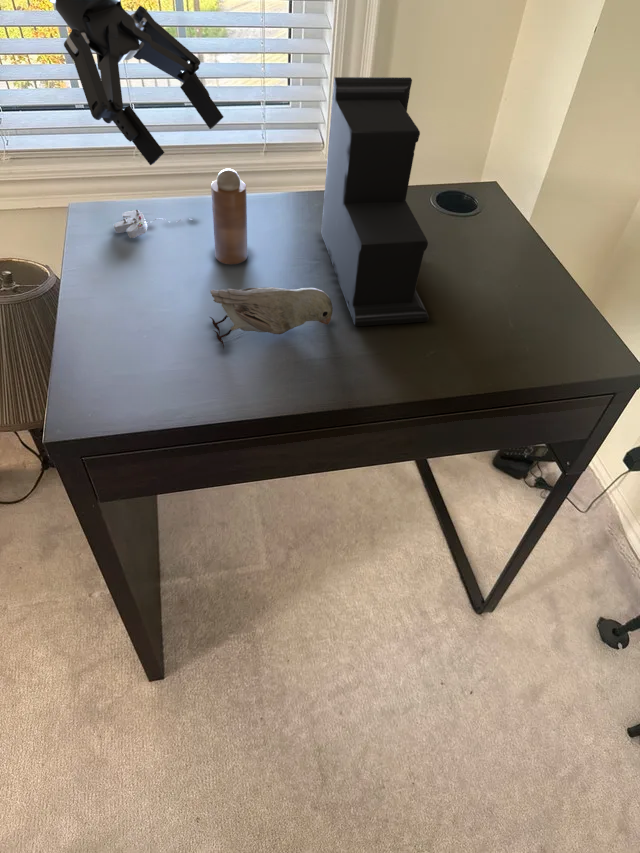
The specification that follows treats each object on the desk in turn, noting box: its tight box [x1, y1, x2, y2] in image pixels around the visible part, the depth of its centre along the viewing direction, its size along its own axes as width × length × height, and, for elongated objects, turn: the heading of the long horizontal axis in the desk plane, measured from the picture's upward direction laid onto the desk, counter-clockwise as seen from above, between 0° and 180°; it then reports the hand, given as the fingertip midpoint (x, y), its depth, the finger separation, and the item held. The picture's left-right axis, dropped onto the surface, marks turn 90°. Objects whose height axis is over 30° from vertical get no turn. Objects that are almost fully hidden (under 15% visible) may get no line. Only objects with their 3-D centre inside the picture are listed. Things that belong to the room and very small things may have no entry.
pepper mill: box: [210, 168, 249, 265], centre depth 91 cm, size 5×5×13 cm
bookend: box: [320, 76, 430, 327], centre depth 86 cm, size 23×11×24 cm, turn 11°
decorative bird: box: [209, 286, 334, 350], centre depth 82 cm, size 5×16×8 cm, turn 107°
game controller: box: [112, 209, 193, 239], centre depth 99 cm, size 6×12×3 cm, turn 129°
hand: (188, 140), depth 86 cm, fingers open, 13 cm apart
